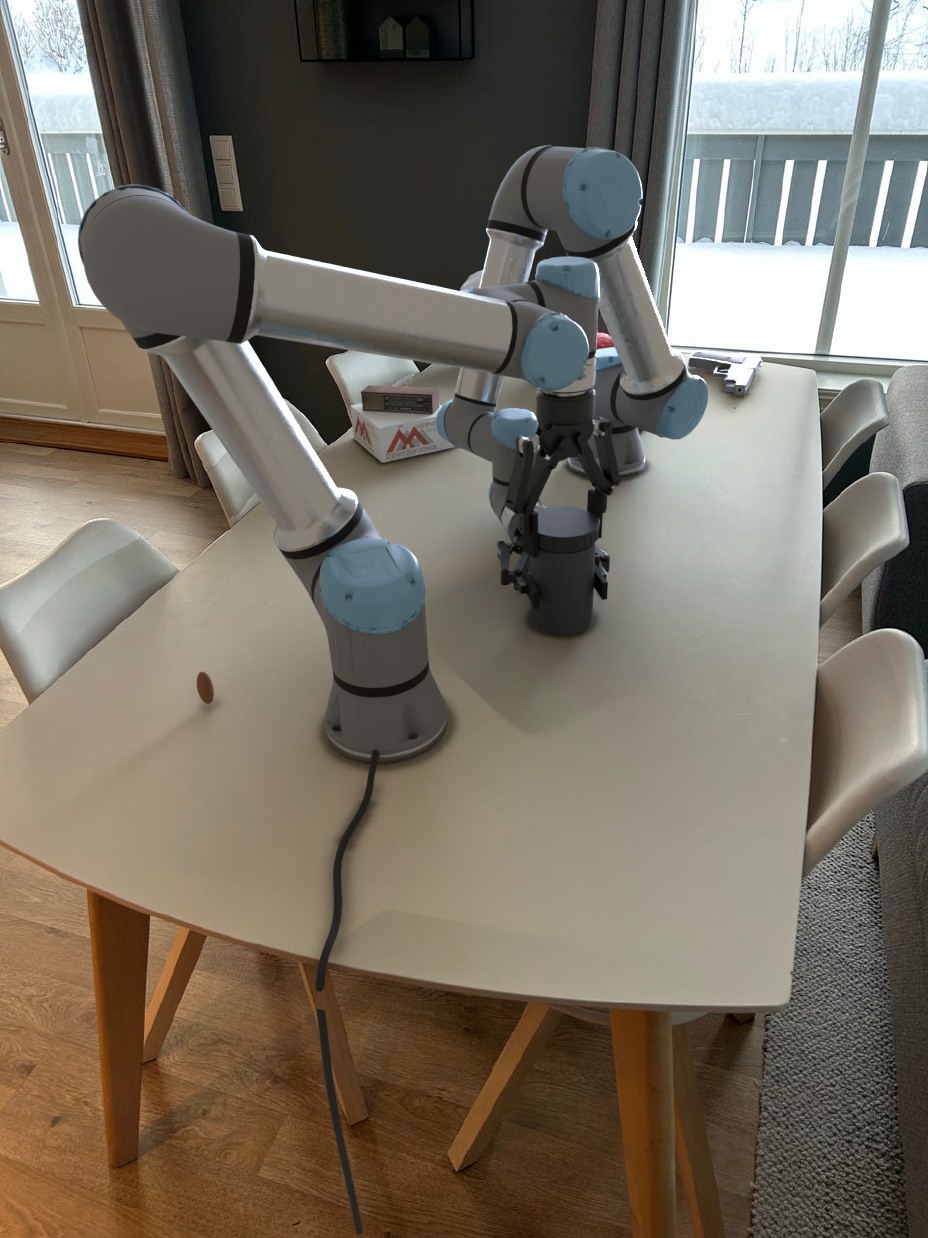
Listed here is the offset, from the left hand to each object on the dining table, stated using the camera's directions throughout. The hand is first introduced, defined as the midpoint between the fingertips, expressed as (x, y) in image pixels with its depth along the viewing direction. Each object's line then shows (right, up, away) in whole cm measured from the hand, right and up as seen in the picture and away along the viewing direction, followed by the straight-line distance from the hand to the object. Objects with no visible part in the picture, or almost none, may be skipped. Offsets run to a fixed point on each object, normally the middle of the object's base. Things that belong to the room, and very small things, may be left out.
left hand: (562, 544), depth 127 cm
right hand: (+1, -7, -1) cm, 7 cm away
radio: (-27, +28, +71) cm, 81 cm away
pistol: (+50, +50, +101) cm, 123 cm away
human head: (-7, +58, +119) cm, 132 cm away
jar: (+1, -11, +7) cm, 12 cm away
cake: (+20, +54, +109) cm, 123 cm away
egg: (-47, -22, -8) cm, 53 cm away
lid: (0, +3, -2) cm, 3 cm away
